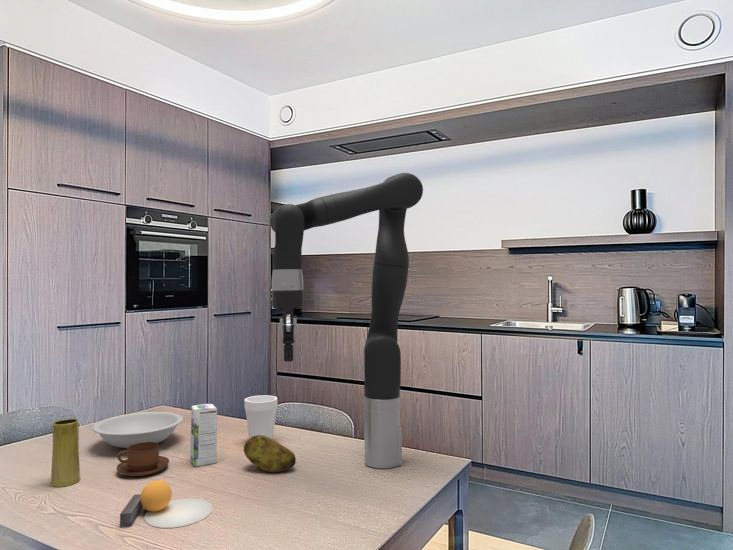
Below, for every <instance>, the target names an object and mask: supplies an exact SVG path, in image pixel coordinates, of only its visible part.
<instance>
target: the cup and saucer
mask: <svg viewBox="0 0 733 550" xmlns="http://www.w3.org/2000/svg"><path fill="white" fill-rule="evenodd" d="M122 454H126V456H127V459H122V458H121V455H122ZM117 460H118V461H119V462H120V463H118V464H117V465H116V470H117V473H119V474H121V475H123V476H128V477H143V476H148V475H153V474H155V473H158V472H160V471H162V470H163V469H165V468H166V467H167V466H168V465H169V463H170V459H169V458H168V457H166V456H162V455H160V444H159V443H155V442H144V443H138V444H134V445H131V446H129V447H128V448H126V450H125V449H124V450H120V451H119V453H118V454H117Z"/></svg>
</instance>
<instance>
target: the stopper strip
mask: <svg viewBox="0 0 733 550" xmlns="http://www.w3.org/2000/svg"><path fill="white" fill-rule="evenodd" d="M140 496H141V493H139V494H138V493H137V494H133V496H132V497H131V499H130V500H128V502H127V504H126V506H125V507H123V510H121V512H120V513H119V527H120V528H122V527H124V528H125V527H132V526H133V524H134V523H135V521H136V519H137V518H138V517H139V516H140V513H141V512H142V510H143V509H144V507H143V506H142V504H141V501H140Z"/></svg>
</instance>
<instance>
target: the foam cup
mask: <svg viewBox="0 0 733 550" xmlns="http://www.w3.org/2000/svg"><path fill="white" fill-rule="evenodd" d="M243 405H244V410H245V416H246V423H247V425H246V426H247V431H248V439H250V438H252V437H253V436H258V435H261V436H267V437H269V438H270V439H272V440H274V433H275V423H276V416H277V408H278V407H279V406H278V397H277V396H275V395H267V394H266V395H252V396H249V397H246V398H244V404H243Z"/></svg>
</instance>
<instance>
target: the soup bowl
mask: <svg viewBox="0 0 733 550" xmlns="http://www.w3.org/2000/svg"><path fill="white" fill-rule="evenodd" d="M183 422H184V418H183V415H181V414H178V413H175V412H171V411H170V412H169V411H142V412H132V413H126V414H121V415H116V416H111V417H108V418H104V419H102V420H99V421H98V422H96V423H95V424H93V425H92V427H91V429H92V431H93V432H94V433H96V434H98V435H99V436H100V437H101V439H102V440H103V441H104V442H106V443H107V444H109V445H111V446H113V447H115V448H121V449H127V448H128V447H129V446H131V445H134V444H138V443H144V442H155V443H158V444H159V443H161V442H163V441H164V440H166V439H167V438H168V437H170V436H171V435H172V433H174V431H175V429H176V428H177V426H178V425H181V423H183Z"/></svg>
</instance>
